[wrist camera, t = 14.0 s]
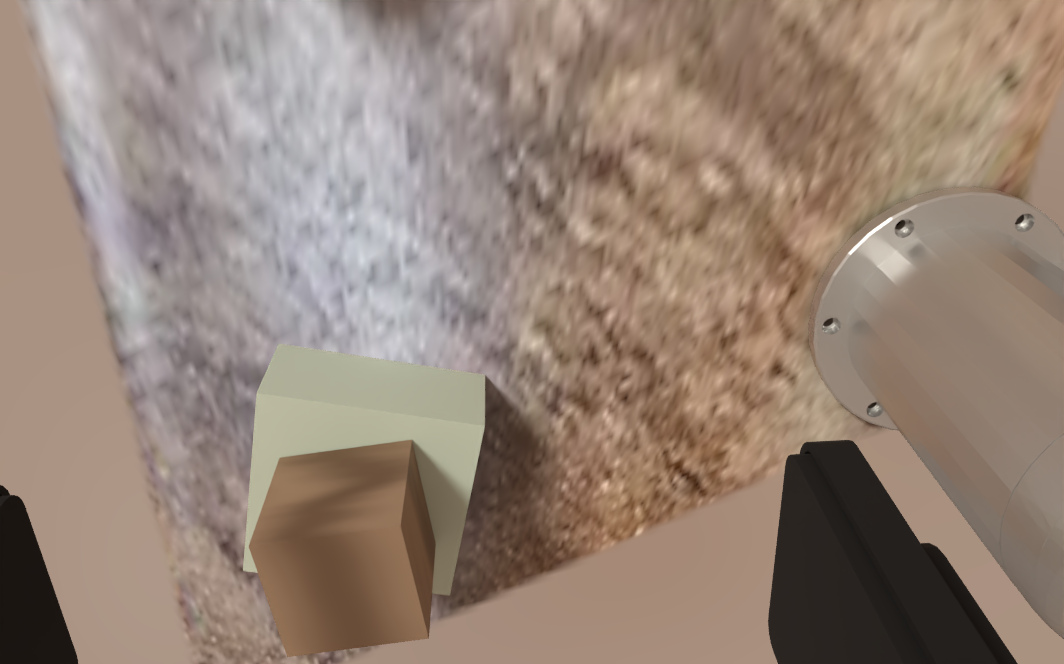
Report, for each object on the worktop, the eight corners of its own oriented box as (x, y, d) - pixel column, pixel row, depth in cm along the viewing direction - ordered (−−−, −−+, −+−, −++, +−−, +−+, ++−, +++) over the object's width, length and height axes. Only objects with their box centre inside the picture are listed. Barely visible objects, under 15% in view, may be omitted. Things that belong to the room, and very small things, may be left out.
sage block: (485, 371, 45) (484, 425, 41) (453, 530, 49) (449, 595, 45) (280, 340, 44) (256, 393, 39) (265, 506, 48) (243, 570, 44)
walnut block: (411, 439, 41) (400, 526, 35) (435, 543, 44) (428, 638, 38) (279, 457, 41) (248, 546, 36) (311, 560, 44) (287, 656, 38)
